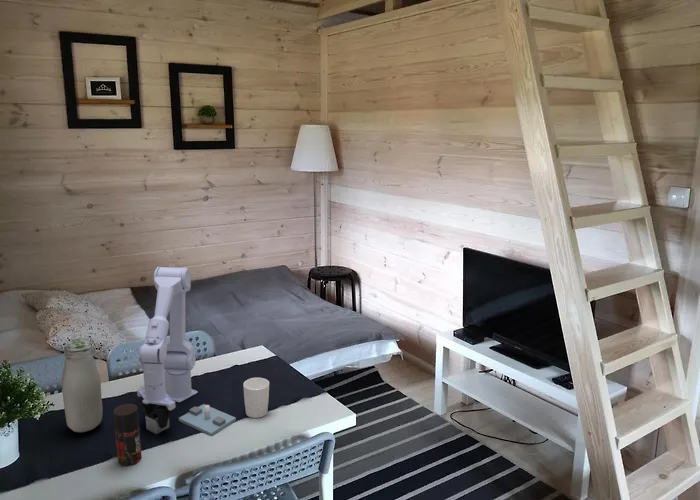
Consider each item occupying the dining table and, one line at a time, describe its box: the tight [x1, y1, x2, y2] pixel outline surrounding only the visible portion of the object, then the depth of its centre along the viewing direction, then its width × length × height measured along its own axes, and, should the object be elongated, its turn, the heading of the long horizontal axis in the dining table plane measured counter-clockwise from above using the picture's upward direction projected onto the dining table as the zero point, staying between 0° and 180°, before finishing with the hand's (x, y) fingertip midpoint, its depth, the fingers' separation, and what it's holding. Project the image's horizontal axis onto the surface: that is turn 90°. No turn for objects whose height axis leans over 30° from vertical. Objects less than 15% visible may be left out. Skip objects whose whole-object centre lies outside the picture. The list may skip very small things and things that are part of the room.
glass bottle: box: [61, 337, 104, 433], centre depth 159 cm, size 10×10×28 cm
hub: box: [145, 411, 170, 435], centre depth 163 cm, size 5×5×4 cm
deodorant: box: [112, 403, 143, 467], centre depth 147 cm, size 6×6×15 cm
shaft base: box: [178, 403, 237, 437], centre depth 167 cm, size 14×10×5 cm
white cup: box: [242, 377, 270, 419], centre depth 171 cm, size 8×8×10 cm
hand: (157, 423), depth 163 cm, fingers closed on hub, 5 cm apart
